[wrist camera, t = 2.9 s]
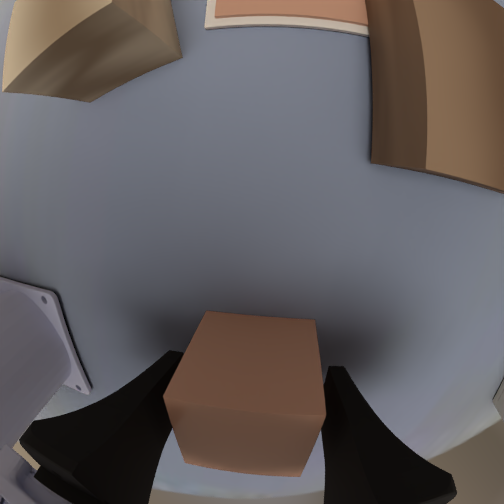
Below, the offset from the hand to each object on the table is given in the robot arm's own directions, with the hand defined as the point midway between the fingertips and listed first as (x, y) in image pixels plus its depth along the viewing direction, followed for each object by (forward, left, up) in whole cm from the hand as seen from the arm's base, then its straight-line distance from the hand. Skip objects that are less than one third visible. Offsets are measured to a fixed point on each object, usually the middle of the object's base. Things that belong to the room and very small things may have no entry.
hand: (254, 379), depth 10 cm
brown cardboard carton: (+7, +12, -1) cm, 14 cm away
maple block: (-6, +14, -2) cm, 15 cm away
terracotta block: (0, 0, -2) cm, 2 cm away
